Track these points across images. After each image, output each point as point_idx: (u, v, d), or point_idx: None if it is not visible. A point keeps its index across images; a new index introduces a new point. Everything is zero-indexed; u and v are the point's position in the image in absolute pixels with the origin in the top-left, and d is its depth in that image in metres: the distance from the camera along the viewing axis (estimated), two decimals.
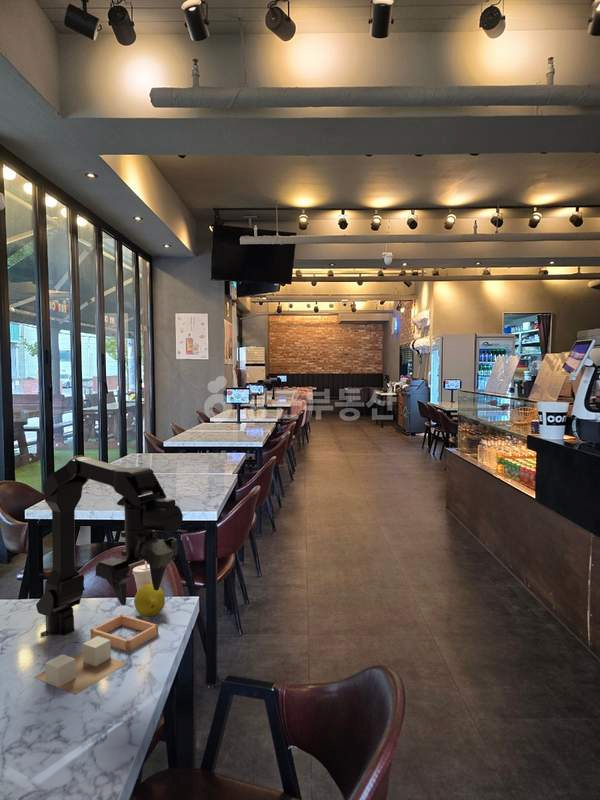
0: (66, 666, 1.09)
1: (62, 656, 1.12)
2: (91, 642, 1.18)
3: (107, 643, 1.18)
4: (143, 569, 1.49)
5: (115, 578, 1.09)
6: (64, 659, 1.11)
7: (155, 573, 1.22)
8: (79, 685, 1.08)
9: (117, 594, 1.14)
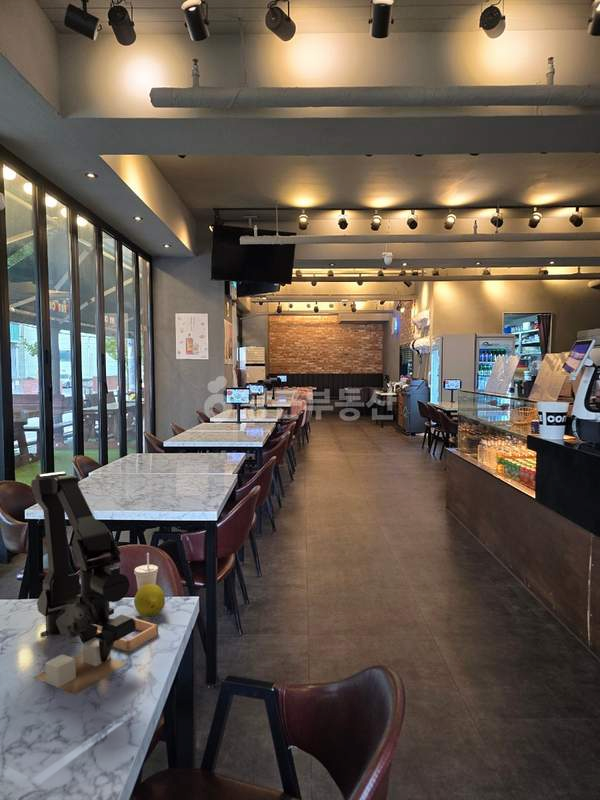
0: (66, 666, 1.09)
1: (62, 656, 1.12)
2: (91, 642, 1.18)
3: None
4: (145, 570, 1.48)
5: None
6: (64, 659, 1.11)
7: None
8: (79, 685, 1.08)
9: None
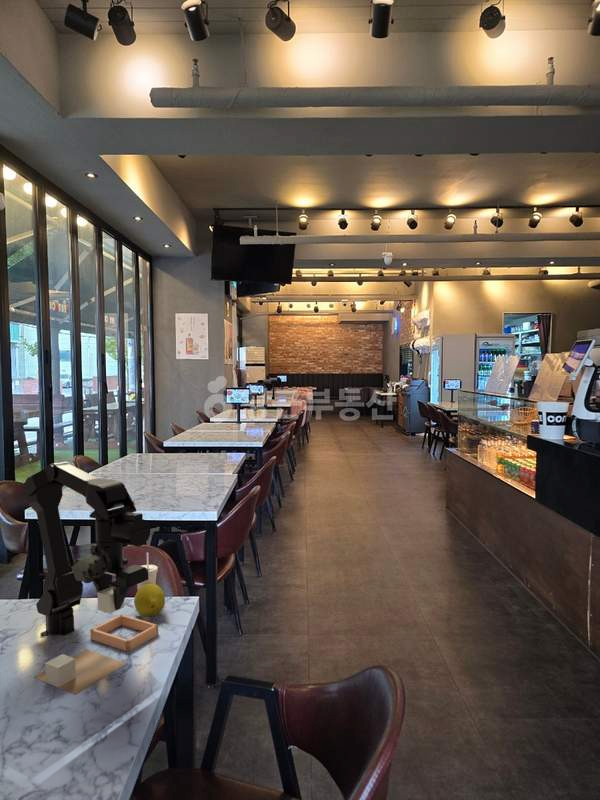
0: (66, 666, 1.09)
1: (62, 656, 1.12)
2: (105, 591, 1.21)
3: None
4: None
5: None
6: (64, 659, 1.11)
7: None
8: (79, 685, 1.08)
9: None
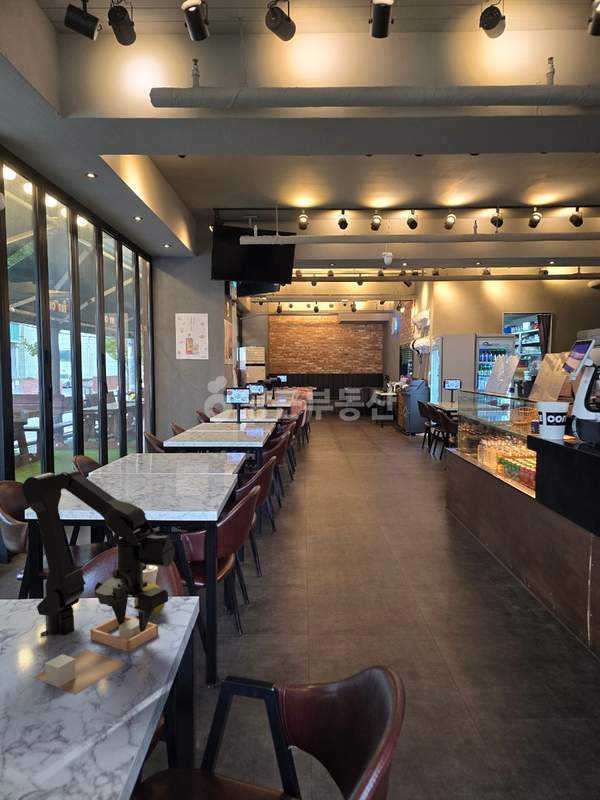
0: (66, 666, 1.09)
1: (62, 656, 1.12)
2: (126, 623, 1.27)
3: None
4: (145, 570, 1.48)
5: None
6: (64, 659, 1.11)
7: None
8: (79, 685, 1.08)
9: None
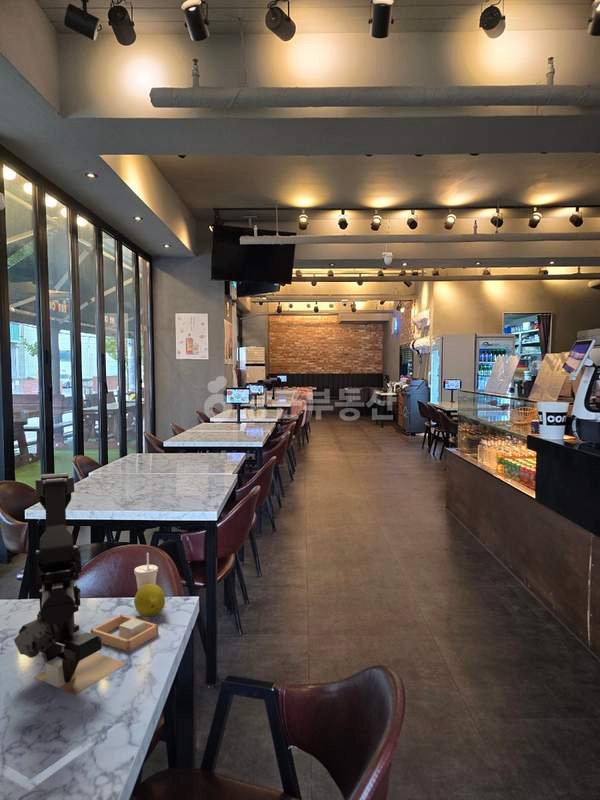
0: None
1: None
2: (126, 623, 1.27)
3: (142, 625, 1.27)
4: (145, 570, 1.48)
5: None
6: None
7: None
8: (79, 685, 1.08)
9: None
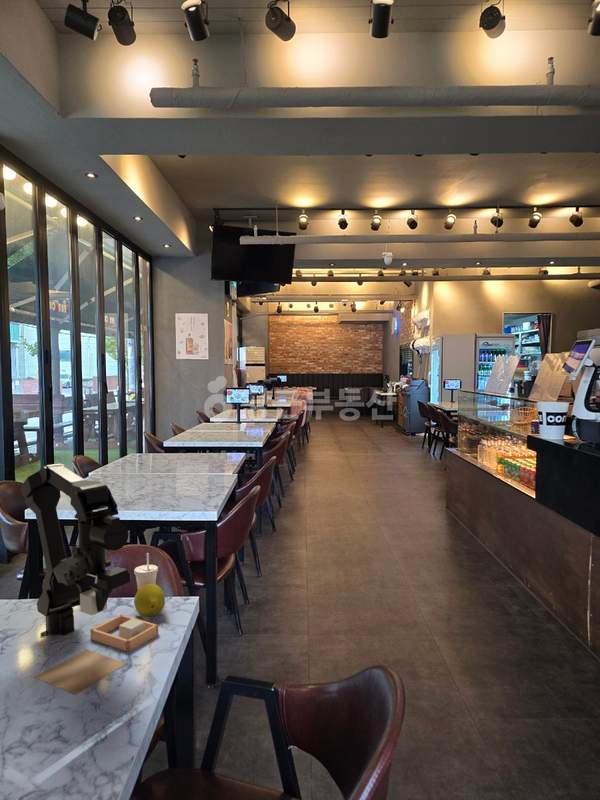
0: None
1: None
2: (126, 623, 1.27)
3: (142, 625, 1.27)
4: (145, 570, 1.48)
5: None
6: None
7: None
8: (79, 685, 1.08)
9: None
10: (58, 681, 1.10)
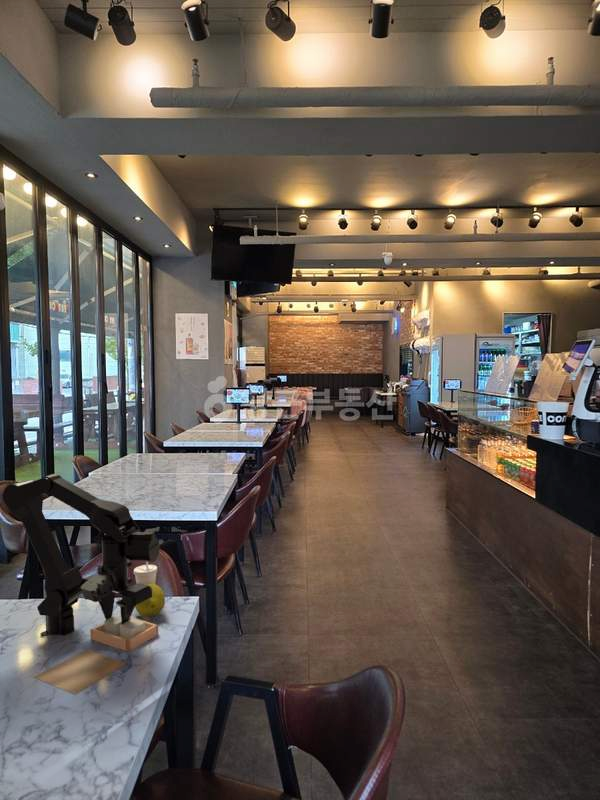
0: None
1: (118, 616, 1.31)
2: (127, 624, 1.27)
3: (142, 625, 1.27)
4: (144, 570, 1.48)
5: None
6: (120, 618, 1.30)
7: None
8: (79, 685, 1.08)
9: None
10: (58, 681, 1.10)
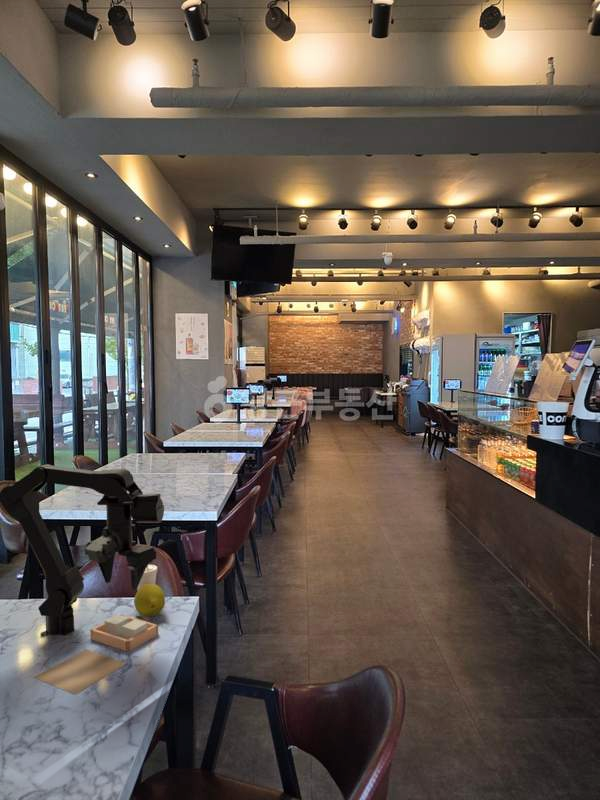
0: (122, 623, 1.29)
1: (118, 616, 1.31)
2: (129, 624, 1.27)
3: (145, 626, 1.27)
4: None
5: (85, 552, 1.33)
6: (120, 618, 1.30)
7: None
8: (79, 685, 1.08)
9: None
10: (58, 681, 1.10)
